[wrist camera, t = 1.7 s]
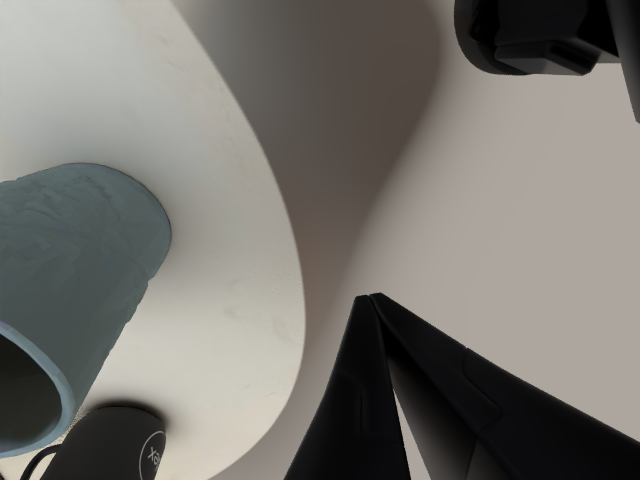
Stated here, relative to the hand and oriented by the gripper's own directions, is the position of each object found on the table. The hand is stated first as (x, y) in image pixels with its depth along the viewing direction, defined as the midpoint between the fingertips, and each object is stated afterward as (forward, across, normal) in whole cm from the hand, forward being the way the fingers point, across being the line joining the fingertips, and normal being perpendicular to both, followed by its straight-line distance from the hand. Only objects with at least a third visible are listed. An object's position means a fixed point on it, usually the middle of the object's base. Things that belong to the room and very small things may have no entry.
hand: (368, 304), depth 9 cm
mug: (+12, -26, -23) cm, 37 cm away
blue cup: (+12, -16, 0) cm, 20 cm away
